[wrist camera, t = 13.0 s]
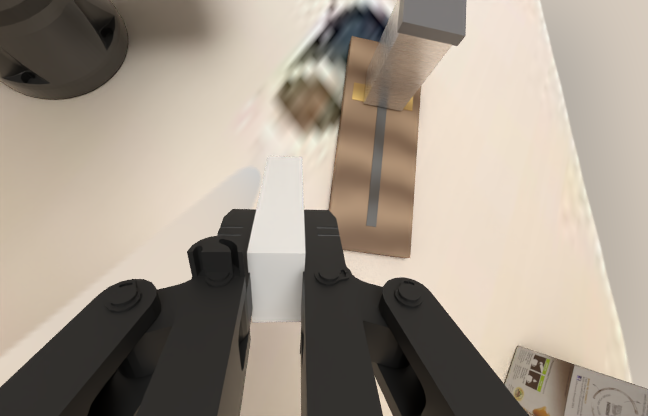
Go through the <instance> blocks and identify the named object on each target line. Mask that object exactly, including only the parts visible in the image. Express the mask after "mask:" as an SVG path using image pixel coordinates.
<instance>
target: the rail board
mask: <svg viewBox="0 0 648 416" xmlns="http://www.w3.org/2000/svg"><path fill="white" fill-rule="evenodd" d="M378 44H379V42H376V41H371V40H367V39H362V38H358V37H353V36H352V37H351V41H350V44H349V51H348V59H347V68H346V76H345V84H344V92H343V100H342V108H341V116H340V124H339V132H338V140H337V148H336V156H335V164H334V172H333V180H332V188H331V196H330V204H329V211H330V212H331V213H332V214H333V215H334V216H335V217H336V219H337V224H338V229H339V234H340V235H339V236H340V239H341V244H342V249H343V250H349V251H357V252H364V253H371V254H378V255H385V256H393V257H400V258H410V251H411V235H412V219H413V203H414V187H415V171H416V156H417V140H418V124H419V108H420V92H421V86H420V88H419V89H418V90H417V92H416V93H415V94H414V95H413V97H412V98H411V99H410V101H409V102H408V103H407V105H406V106H405V107H404V108H403V110H402V111H399V110H394V109H389V108H384V107H378V106H373V105H368V104H364V96H365V87H366V77H367V69H368V67H369V64H370V62H371V60H372V57H373V55H374V53H375V50H376V48H377V46H378Z"/></svg>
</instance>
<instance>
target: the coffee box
mask: <svg viewBox="0 0 648 416" xmlns="http://www.w3.org/2000/svg"><path fill="white" fill-rule="evenodd" d="M505 386H506V387H507V389H508V390H509V391H510V392H511V394H512V395H513V396H514V397H515V399H516V400H517V401H518V402H519V404H520V405H521V406H522V407H523V409H524V410H526V411H527V412H529V413H531V414H532V415H534V416H648V389H646V388H643V387H640V386H637V385H635V384H632V383H629V382H626V381H622V380H619V379H616V378H614V377H610V376H607V375H604V374H601V373H598V372H595V371H592V370H589V369H586V368H584V367H580V366H577V365H574V364H571V363H568V362H565V361H562V360H559V359H556V358H553V357H550V356H547V355H544V354H541V353H538V352H535V351H532V350H529V349H526V348H523V347H521V346H518V347H517V349H516V352H515V355H514V358H513V361H512V364H511V367H510V370H509V373H508V376H507V379H506V382H505Z"/></svg>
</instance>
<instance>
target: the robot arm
mask: <svg viewBox="0 0 648 416" xmlns="http://www.w3.org/2000/svg"><path fill="white" fill-rule="evenodd" d="M127 47H128V35H127V30H126V27H125V24H124V22H123V20H122V18H121V16H120V15H119V13H118V12H117V10H116V9H115V7H114V5H113V4H112V2H111V1H110V0H0V81H1V82H3V83H4V84H6V85H7V86H9V87H10V88H12V89H14V90H16V91H18V92H20V93H23V94H25V95H29V96H32V97H37V98H44V99H63V98H70V97H75V96H78V95H82V94H85V93H87V92H90V91H92V90H94V89H96V88H97V87H99V86H101V85H102V84H104V83H105V82H106V81H108V80H109V79H110V78H111V77H112V76H113V75H114V74H115V73H116V71H117V70H118V69H119V67H120V66H121V64H122V62H123V60H124V58H125V55H126V52H127ZM339 235H340V234H339V229H338V224H337V219H336V217H335V216H334V215H333V214H332V213H331V212H330V211H329V210H304V198H303V170H302V157H290V156H268V158H267V163H266V167H265V172H264V176H263V181H262V186H261V190H260V195H259V199H258V204H257V209H256V210H250V209H232V210H231V211H230V212H229V213H228V214H227V215H226V216H225V217H224V218H223V221H222V223H221V227H220V229H219V231H218V236H214V237H208V238H205V239H202V240H200V241H198V242H197V243H195V244H194V245H192V246H191V248H190V249H189V250H188V251H187V253H188V258H189V263H190V268H191V273H192V279H191V280H189V281H187V282H185V283H182V284H179V285H175V286H171V287H167V288H163V289H159V290H157V289H156V288H155V286H154V285H153V284H152V282H149V281H147V280H144V279H132V280H127V281H122V282H119V283H117V284H115V285H112V286H110V287H108V288H107V289H106V290H104V291H103V292H102V293H100V294H99V295H98V296H97V297H96V298H95V299H94V300H92V301H91V303H89V304H88V305H87V306H86V307H85V308H84V309H83V310H82V311H81V312H80V313H79V314H78V315H77V316H76V317H74V318H73V319H72V320H71V321H70V322H69V323H68V324H67V325H66V326H65V327H64V328H63V329H62V330H61V331H60V332H59V333H58V334H56V335H55V336H54V337H53V338H52V339H51V340H50V341H49V342H48V343H47V344H46V345H45V346H44V347H43V348H42V349H41V350H39V352H37V353H36V354H35V355H34V356H33V357H32V358H31V359H30V360H29V361H28V362H27V363H26V364H25V365H24V366H23V367H22V368H20V369H19V370H18V372H16V373H15V374H14V375H13V376H12V377H11V378H10V379H9V380H8V381H7V382H6V383H4V384H3V385H2V386H1V387H0V416H240V409H241V403H242V396H243V389H244V382H245V375H246V368H247V361H248V354H249V347H250V340H251V339H250V322H251V316H252V322H301V343H300V354H301V416H383V414H382V409H381V404H380V400H379V395H378V390H377V386H376V381H375V377H376V380H377V382H378V384H379V386H380V388H381V390H382V393H383V395H384V397H385V399H386V401H387V403H388V406H389V408H390V410H391V412H392V414H393V416H529V415H528V414H527V412H526V411H525V410H524V409H523V407H522V406H521V405H520V404H519V402H518V401H517V400H516V399H515V397H514V396H513V395H512V394H511V392H510V391H509V390H508V389H507V387H506V386H505V385H504V384H503V382H502V381H501V380H500V378H499V377H498V376H497V375H496V373H495V372H494V371H493V370H492V368H491V367H490V366H489V365H488V363H487V362H486V361H485V360H484V358H483V357H482V356H481V355H480V353H479V352H478V351H477V350H476V348H475V347H474V346H473V345H472V343H471V342H470V341H469V340H468V338H467V337H466V336H465V335H464V333H463V332H462V331H461V330H460V328H459V327H458V326H457V325H456V323H455V322H454V321H453V320H452V318H451V317H450V316H449V314H448V313H447V312H446V311H445V309H444V308H443V307H442V306H441V304H440V303H439V302H438V301H437V299H436V298H435V297H434V296H433V294H432V293H431V292H430V291H429V290H428V289H427V288H426V287H425V286H424V285H423V284H421V283H419V282H417V281H415V280H412V279H408V278H394V279H391V280H389V281H387V282H386V284H385V285H384V286H383V287H381V286H377V285H373V284H369V283H366V282H363V281H361V280H359V279H357V278H356V277H354V276H353V275H352V273H351V271H350V270H349V269H348V268H347V267H346V264H345V259H344V254H343V249H342V244H341V239H340V236H339ZM374 375H375V376H374Z"/></svg>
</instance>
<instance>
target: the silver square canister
mask: <svg viewBox="0 0 648 416" xmlns="http://www.w3.org/2000/svg"><path fill="white" fill-rule="evenodd" d="M465 29H466V0H397V2H396V5H395V7H394V9H393V11H392V14H391V16H390V18H389V21H388V23H387V25H386V27H385V30H384V32H383V34H382V37H381V39H380V41H379V44H378V46H377V48H376V50H375V53H374V55H373V57H372V60H371V62H370V64H369V67H368V69H367V77H366V87H365V96H364V104H368V105H373V106H378V107H384V108H389V109H394V110H399V111H402V110H403V108H404V107H405V106H406V105H407V103H408V102H409V101H410V99H411V98H412V97H413V95H414V94H415V93H416V92H417V90H418V89H419V88H420V86H421V85H422V84H423V82H424V81H425V80H426V79H427V77H428V76H429V75H430V73H431V72H432V71H433V69H434V68H435V67H436V66H437V64H438V63H439V62H440V60H441V59H442V58H443V56H444V55H445V54H446V53H447V51H448V50H449V49H450V47H451V46H452V45H455V46H458V44H459V43H460V42H461V41H462V39H463V38H464V37H465Z"/></svg>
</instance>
